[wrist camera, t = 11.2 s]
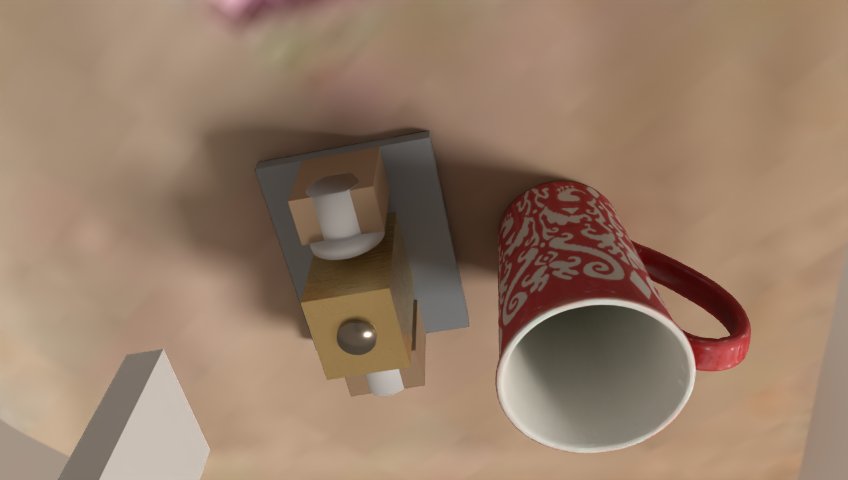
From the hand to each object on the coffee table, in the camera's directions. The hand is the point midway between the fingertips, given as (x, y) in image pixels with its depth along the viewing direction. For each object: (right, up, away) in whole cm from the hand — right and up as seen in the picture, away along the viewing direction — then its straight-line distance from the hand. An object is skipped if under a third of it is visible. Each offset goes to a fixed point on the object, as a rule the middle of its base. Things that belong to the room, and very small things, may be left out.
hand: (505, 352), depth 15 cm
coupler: (-5, +1, +31) cm, 32 cm away
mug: (+8, +3, +32) cm, 33 cm away
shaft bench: (-5, +2, +32) cm, 33 cm away
